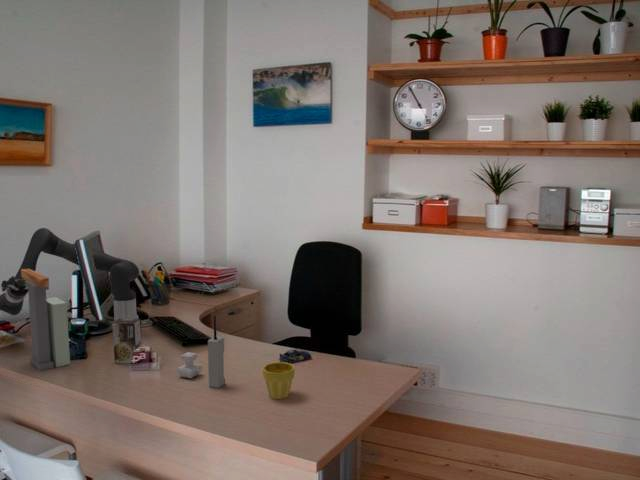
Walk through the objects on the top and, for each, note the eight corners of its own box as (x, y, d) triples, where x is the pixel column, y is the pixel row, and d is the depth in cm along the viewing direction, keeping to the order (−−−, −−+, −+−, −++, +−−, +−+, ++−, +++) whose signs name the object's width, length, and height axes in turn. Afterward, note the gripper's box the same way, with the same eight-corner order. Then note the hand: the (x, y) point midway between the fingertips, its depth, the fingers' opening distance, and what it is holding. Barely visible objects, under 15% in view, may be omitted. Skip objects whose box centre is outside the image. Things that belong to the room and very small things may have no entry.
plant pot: (282, 404, 198) (282, 374, 196) (257, 397, 203) (256, 368, 202) (300, 393, 207) (300, 365, 205) (275, 387, 212) (275, 359, 211)
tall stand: (43, 359, 240) (38, 279, 235) (53, 367, 231) (48, 284, 226) (30, 362, 237) (24, 280, 232) (39, 370, 228) (34, 286, 223)
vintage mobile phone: (225, 383, 215) (223, 314, 212) (218, 388, 211) (216, 317, 207) (215, 382, 217) (214, 313, 213) (208, 387, 212) (207, 316, 208)
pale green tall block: (59, 356, 244) (56, 297, 240) (70, 364, 235) (66, 302, 231) (46, 358, 241) (42, 299, 237) (56, 367, 232) (52, 304, 228)
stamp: (205, 375, 223) (204, 353, 222) (194, 381, 217) (193, 358, 216) (185, 371, 227) (185, 349, 226) (173, 377, 221) (173, 354, 220)
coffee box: (143, 358, 241) (141, 318, 239) (136, 364, 235) (135, 323, 233) (120, 357, 242) (118, 318, 240) (113, 363, 236) (111, 322, 233)
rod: (29, 276, 241) (29, 268, 240) (49, 286, 223) (48, 278, 222) (21, 277, 239) (20, 269, 238) (40, 287, 221) (39, 279, 220)
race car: (306, 354, 247) (306, 343, 247) (317, 359, 242) (317, 348, 242) (275, 362, 238) (275, 351, 238) (285, 367, 233) (285, 356, 232)
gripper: (-4, 285, 248) (3, 270, 236) (33, 280, 257) (42, 265, 246) (-1, 302, 246) (7, 288, 235) (37, 297, 255) (46, 283, 244)
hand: (25, 276), depth 240 cm, fingers open, 8 cm apart
